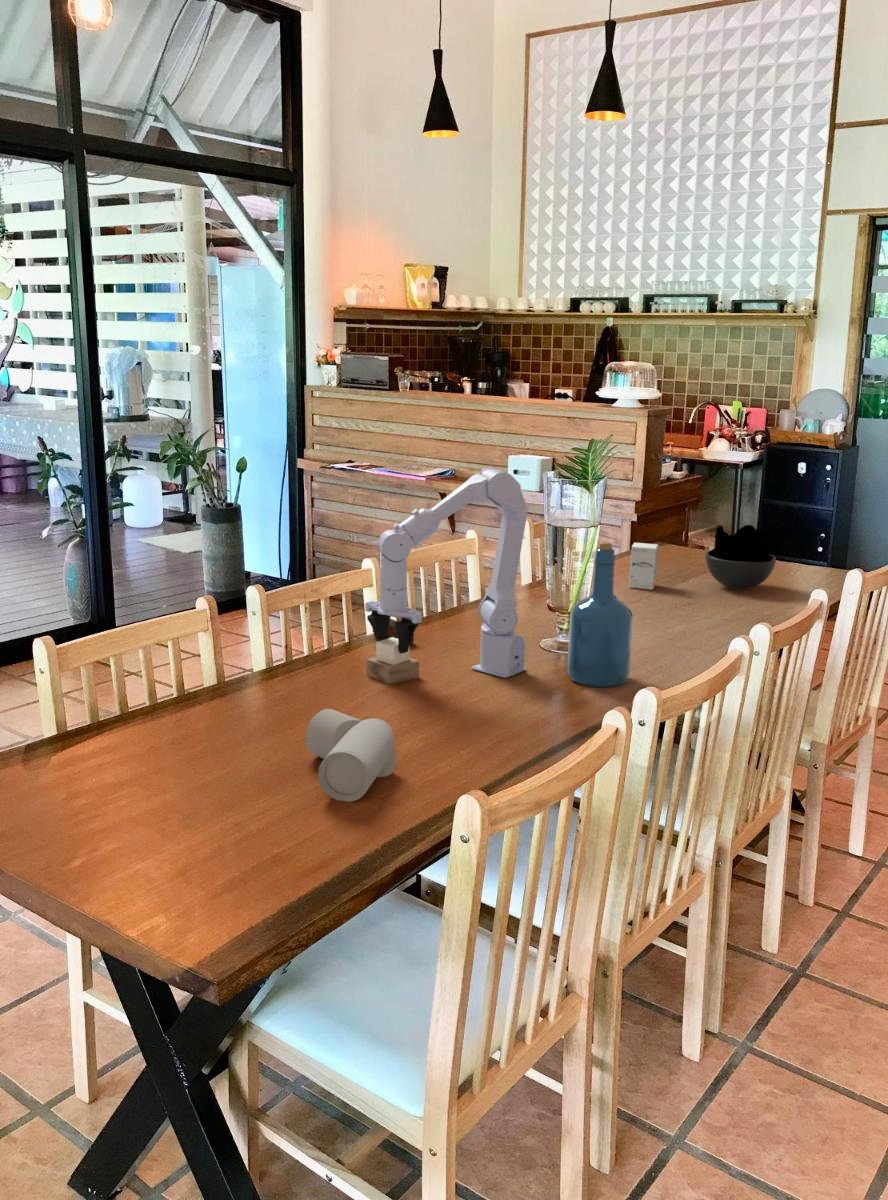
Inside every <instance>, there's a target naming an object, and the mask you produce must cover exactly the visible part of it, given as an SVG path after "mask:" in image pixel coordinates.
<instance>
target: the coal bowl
mask: <svg viewBox="0 0 888 1200" xmlns="http://www.w3.org/2000/svg"><path fill="white" fill-rule="evenodd" d="M714 536H715V537H714V548H713V549H711V550H708V551H706V554H705V562H706V565H707V569H708V570H709V572H710V574H711V575H712V577H713V578H714V579H715V580H716V581H717V582H718V584H721V585H723V586H725V587H726V588H729V589H732V588H733V590H739V589H741V590H749V589H753V588H754V587H758V586H759V585H760V584H762V583H763V582H765V580H767V579H768V578H769V577H770V575H771V573H772V572H773V570H774V569H775V566H776V565H775V564H776V562H777V557H776V556H774V555H772V554H770V553H769V551H768V550H767V546H766V540H767V539H768V537H767V535H766V534H765V532H763V531H761V530H758V529H756V528H755V526H753V525H751V524H746V525H744V526H742V527H740V528H738V529H736V532H735V533H734V534H729V533H728V532H727V531H724V527H723V525H720V524H719V525H718V526H717V529H716V532H715V535H714Z"/></svg>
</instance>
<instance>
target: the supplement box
mask: <svg viewBox="0 0 888 1200" xmlns="http://www.w3.org/2000/svg"><path fill="white" fill-rule="evenodd" d="M630 552H631V554H630V564H629V577H628V580H629V581H628V589H640V590H648V591H649V590H650V591H652V590H654V588H655V586H656V585H655V584H656V576H657V568H658V566H657V565H658V554H659V544H656V543H646V542H645V543H643V542H633V544H632V545H631V551H630Z"/></svg>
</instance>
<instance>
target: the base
mask: <svg viewBox="0 0 888 1200" xmlns="http://www.w3.org/2000/svg"><path fill="white" fill-rule="evenodd" d="M366 676H367V677H370V678H373V679H375V680H377V681H379V682H381V683H384V684H387V685H393V684H398V683H401V682H406V681H409V680H413V679H417V678H419V677H420V660H417V659H415V658H412V657H410V656H409V660H407V661H404V662H401V663H398V664H395V665H392V664H389V663H385V662H382V661H378V660H376V656H373V657H369V658H368V657H367V658H366Z"/></svg>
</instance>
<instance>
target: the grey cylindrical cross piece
mask: <svg viewBox="0 0 888 1200" xmlns="http://www.w3.org/2000/svg"><path fill="white" fill-rule="evenodd" d="M305 745H306V747H307V749H308V751H309V752H310V753H311V755H314V756H316V757H319V758H321V759H323V760H322V761H321V763H320V764H319V767H318V781H319V784H320V786H321V788H322V790H323V791H324V792H325V793H326V794H327V795H328V796H329V797H331V798H332V799H334V800H336V801H343V802H349V803H352V802H355V801H357V800H360V799H361V798H362V797H363V796H364V795H365V794H366V792H368V790H369V789H370V787H371V786H372V784H373V783H374V782H375V780H376V779H377V778H383V777H384V778H385V777H388V776H390V775H391V774H392V773H394V771H395V769H396V767H397V763H398V757H397V753H396V749H395V747H394V746H395V735H394V731H393V729H392V727H391V726H390V725H389V724H388V722H386V721H385V720H383V719H381V718H368V719H367V718H366V719H363V720H361V719H359V718H356V717H354V716H350V715H348V714H346V713H342V712H340V711H338V710H334V709H332V708H325V709H322V710H320V711H319V712H317V713H316V714H315V715H314V716H313V717H312V719H310V722H309V723H308V725H307V728H306V733H305Z"/></svg>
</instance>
